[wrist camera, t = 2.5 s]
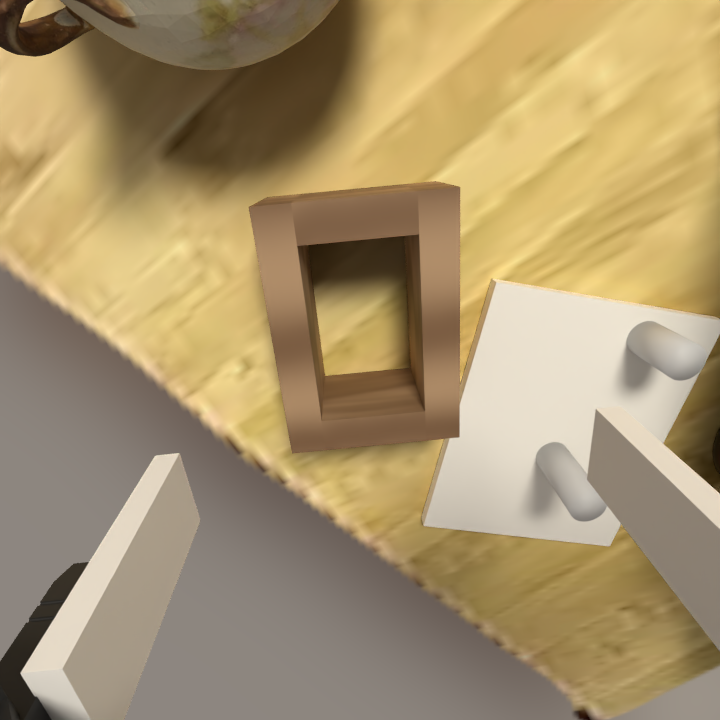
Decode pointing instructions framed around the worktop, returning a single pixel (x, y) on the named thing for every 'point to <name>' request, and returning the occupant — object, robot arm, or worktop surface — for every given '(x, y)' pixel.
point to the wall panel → (557, 407)
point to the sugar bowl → (171, 28)
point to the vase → (717, 452)
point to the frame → (425, 315)
